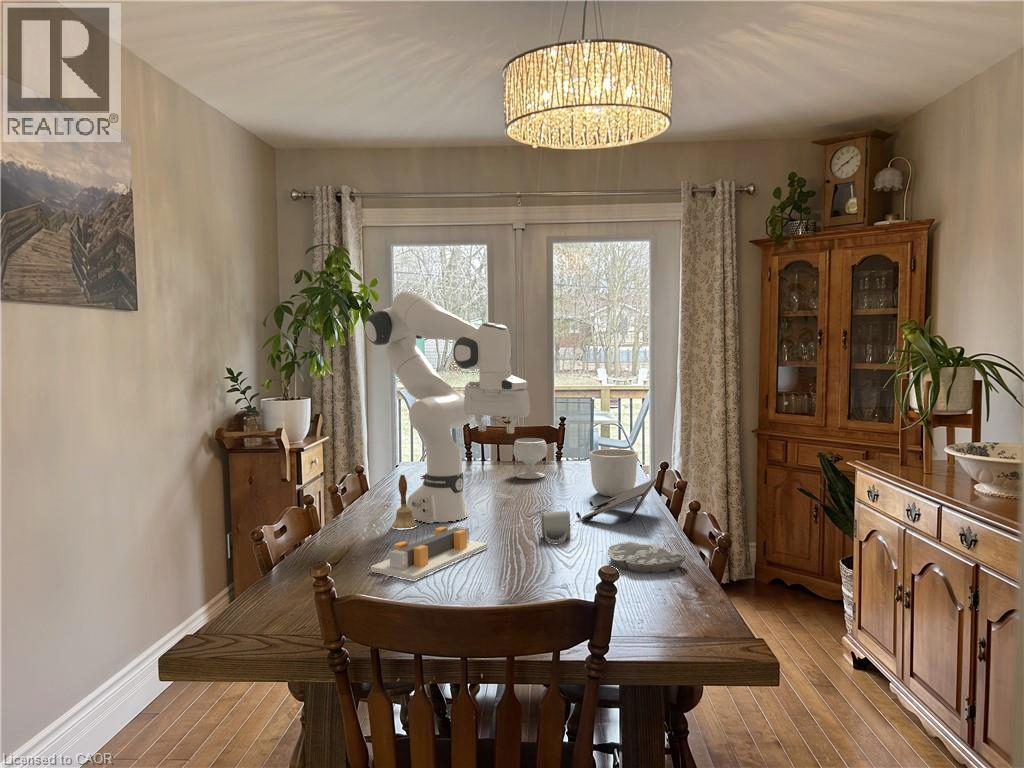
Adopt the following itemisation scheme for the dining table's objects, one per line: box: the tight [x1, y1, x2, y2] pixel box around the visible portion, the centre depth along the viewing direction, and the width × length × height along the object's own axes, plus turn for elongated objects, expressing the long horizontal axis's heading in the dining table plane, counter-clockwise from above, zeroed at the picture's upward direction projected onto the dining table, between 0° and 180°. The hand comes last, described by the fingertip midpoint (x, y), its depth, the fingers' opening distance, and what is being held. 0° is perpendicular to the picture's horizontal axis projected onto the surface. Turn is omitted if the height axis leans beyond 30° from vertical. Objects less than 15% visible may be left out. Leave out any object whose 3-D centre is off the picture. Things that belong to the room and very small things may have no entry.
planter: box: [589, 448, 639, 498], centre depth 255 cm, size 17×17×15 cm
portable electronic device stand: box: [575, 478, 658, 522], centre depth 224 cm, size 23×23×9 cm
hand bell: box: [391, 474, 419, 528], centre depth 216 cm, size 8×8×16 cm
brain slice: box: [607, 541, 686, 574], centre depth 178 cm, size 20×17×3 cm
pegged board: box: [370, 526, 488, 580], centre depth 184 cm, size 14×30×6 cm, turn 147°
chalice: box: [512, 437, 548, 480], centre depth 289 cm, size 14×14×15 cm
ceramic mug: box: [540, 510, 572, 544], centre depth 201 cm, size 11×8×8 cm
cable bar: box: [389, 525, 470, 571], centre depth 184 cm, size 4×27×4 cm, turn 147°
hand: (496, 432), depth 197 cm, fingers open, 8 cm apart
